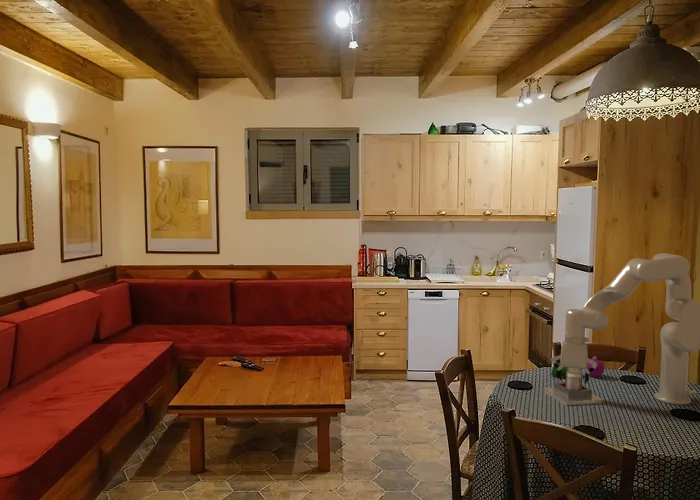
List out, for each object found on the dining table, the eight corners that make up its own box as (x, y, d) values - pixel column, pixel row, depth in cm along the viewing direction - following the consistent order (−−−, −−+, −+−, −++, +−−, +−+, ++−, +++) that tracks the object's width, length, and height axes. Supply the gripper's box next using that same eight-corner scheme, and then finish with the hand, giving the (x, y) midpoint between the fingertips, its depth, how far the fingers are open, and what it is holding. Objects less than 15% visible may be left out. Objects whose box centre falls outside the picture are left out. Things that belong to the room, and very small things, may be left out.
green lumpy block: (562, 387, 241) (564, 373, 236) (550, 381, 245) (551, 366, 240) (576, 373, 247) (577, 358, 242) (564, 367, 251) (565, 353, 246)
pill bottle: (572, 390, 220) (573, 363, 219) (584, 395, 215) (586, 367, 214) (561, 392, 217) (562, 365, 216) (573, 397, 212) (575, 369, 211)
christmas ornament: (584, 372, 249) (585, 351, 248) (603, 374, 245) (604, 353, 245) (584, 377, 241) (585, 356, 240) (604, 380, 238) (605, 358, 237)
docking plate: (578, 389, 225) (578, 379, 225) (602, 403, 210) (602, 392, 209) (543, 391, 223) (544, 381, 222) (565, 405, 207) (566, 394, 207)
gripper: (597, 340, 214) (596, 381, 216) (552, 335, 221) (550, 375, 223) (598, 344, 207) (596, 386, 209) (551, 339, 214) (549, 380, 216)
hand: (572, 380), depth 216 cm, fingers open, 9 cm apart
